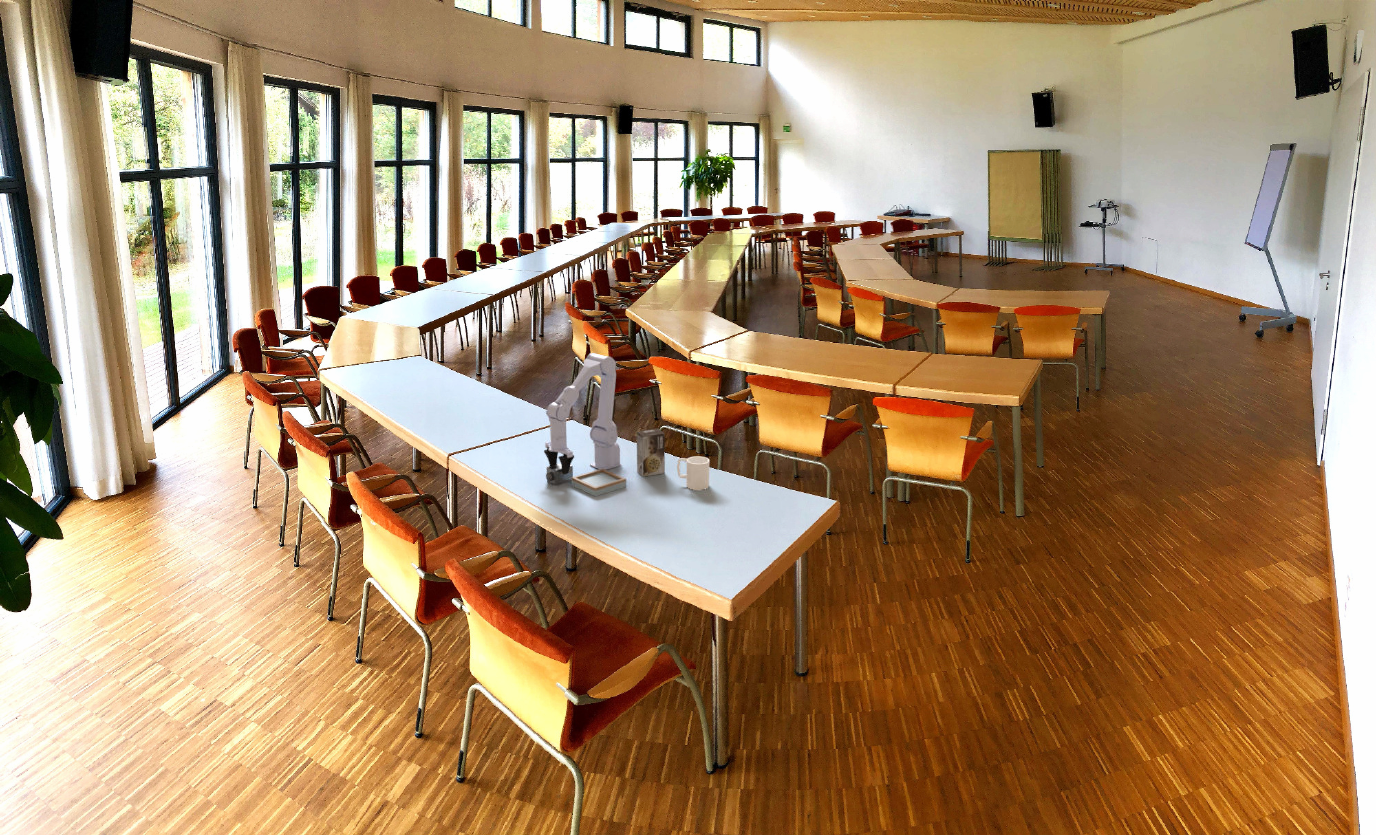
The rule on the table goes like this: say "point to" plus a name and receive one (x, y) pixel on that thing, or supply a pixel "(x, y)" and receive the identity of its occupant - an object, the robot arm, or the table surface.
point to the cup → (696, 472)
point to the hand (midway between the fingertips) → (559, 470)
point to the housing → (558, 475)
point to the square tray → (598, 482)
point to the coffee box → (650, 452)
